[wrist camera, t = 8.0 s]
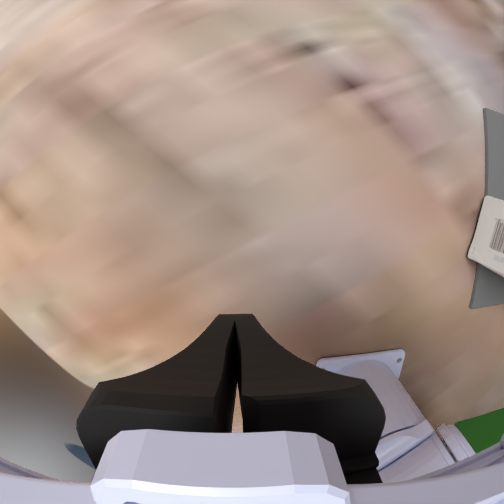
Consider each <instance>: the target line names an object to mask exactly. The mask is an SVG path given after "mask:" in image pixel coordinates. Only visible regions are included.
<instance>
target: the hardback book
mask: <svg viewBox="0 0 504 504" xmlns="http://www.w3.org/2000/svg"><path fill="white" fill-rule="evenodd" d="M455 426H456V427H457V429H458V430H459V431H460V432H461V434H462V435H463V436H464V438H465V439H466V440H467V442H468V443H469V444H470V446H471V447H472V449H473V450H474V452H475V453H476V454H477V453H479V452H481V451H483V450H485V449H487V448H489V447H491V446H493V445H495V444H497V443H499V442H500V440H501V438H502V436H503V434H504V408H502V409H499V410H496V411H493V412H490V413H487V414H484V415H481V416H478V417H474V418H471V419H467V420H464V421H460V422H456V423H455ZM448 450H449V448H448ZM449 451H450V450H449ZM450 452H451V451H450Z"/></svg>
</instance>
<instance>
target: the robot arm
mask: <svg viewBox="0 0 504 504" xmlns="http://www.w3.org/2000/svg"><path fill="white" fill-rule="evenodd" d="M399 358H400V359H399ZM404 358H405V351H404V350H403V349H396V350H389V351H382V352H375V353H367V354H359V355H350V356H340V357H330V358H321V359H319V360H318V361H317V363H316V366H314V365H312V364H310V363H308V362H306V361H304V360H302V359H300V358H298V357H297V356H295V355H293V354H292V353H290V352H289V351H287V350H286V349H285V348H283V347H282V346H281V345H279V344H278V343H277V342H276V341H275V340H274V339H273V338H272V337H271V336H270V335H269V334H268V333H267V332H266V331H265V330H264V328H263V327H262V326H261V325H260V323H259V322H258V321H257V319H256V318H255V316H254V315H253V314H219V315H218V316H217V317H216V318H215V319H214V320H213V322H212V323H211V324H210V325H209V326H208V328H207V329H206V330H205V331H204V332H203V333H202V334H201V335H200V336H199V337H198V338H197V339H196V340H195V341H194V342H192V343H191V344H190V345H189V346H188V347H187V348H185V349H184V350H182V351H181V352H180V353H178V354H176V355H175V356H173V357H172V358H170V359H168V360H166V361H164V362H162V363H160V364H158V365H156V366H154V367H152V368H150V369H147V370H145V371H142V372H139V373H136V374H133V375H130V376H126V377H123V378H118V379H113V380H109V381H104V382H99V383H98V385H97V386H96V388H95V389H94V391H93V392H92V393H91V395H90V397H89V399H88V401H87V402H86V405H85V406H84V408H83V410H82V411H81V413H80V415H79V417H78V419H77V427H76V428H77V432H78V435H79V438H80V440H81V442H82V444H83V446H84V448H85V450H86V452H87V454H88V455H89V457H90V459H91V461H92V463H93V465H94V466H95V468H96V471H95V474H94V476H93V479H92V481H91V483H90V482H89V483H88V482H69V481H60V480H57V479H54V478H51V477H48V476H45V475H42V474H39V473H37V472H34V471H32V470H29V469H27V468H24V467H22V466H19V465H17V464H14V463H12V462H10V461H8V460H5V459H3V458H1V457H0V504H504V434H503V436H502V438H501V440H500V442H499V443H497V444H495V445H493V446H491V447H489V448H487V449H485V450H483V451H481V452H479V453H477V454H476V453H475V452H474V450H473V449H472V447H471V446H470V444H469V443H468V442H467V440H466V439H465V438H464V436H463V435H462V434H461V432H460V431H459V430H458V429H457V427H456V426H455V425H449V424H448V425H446V424H444V423H443V424H441V425H440V426H439V427H438V428H437V430H438V431H439V433H440V434H441V436H442V437H443V441H444V442H445V444H446V445H447V447H448V448H449V450H450V451H451V452H450V451H449V450H448V448H447V447H446V445H445V444H444V442H443V441H442V439H441V438H440V437H439V435H438V434H437V433H436V431H435V430H434V428H433V427H432V426H431V424H430V423H429V421H428V420H426V419H425V417H424V416H423V414H422V413H421V411H420V410H419V408H418V407H417V405H416V404H415V403H414V401H413V400H412V398H411V397H410V395H409V394H408V392H407V391H406V390H405V388H404V387H403V385H402V384H401V382H400V381H399V377H400V373H401V369H402V366H403V362H404ZM398 359H399V360H398ZM397 360H398V361H397ZM322 368H324V369H322ZM237 382H238V390H239V397H240V404H241V411H242V418H243V433H232V421H233V413H234V405H235V397H236V388H237Z"/></svg>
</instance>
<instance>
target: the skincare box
mask: <svg viewBox="0 0 504 504" xmlns="http://www.w3.org/2000/svg"><path fill="white" fill-rule="evenodd" d="M468 258H469V259H471V260H473V261H475V262H477V263H479V264H481V265H483V266H485V267H486V268H488V269H490V270H491V271H493V272H495V273H497V274H498V275H500V276H502V277H503V278H504V200H501V199H497V198H494V197H491V196H485V198H484V201H483V205H482V209H481V213H480V216H479V220H478V224H477V228H476V231H475V235H474V238H473V241H472V244H471V246H470V249H469V252H468Z"/></svg>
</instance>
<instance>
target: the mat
mask: <svg viewBox="0 0 504 504" xmlns="http://www.w3.org/2000/svg"><path fill="white" fill-rule="evenodd" d="M483 114H484V127H485V153H486V175H485V196H491V197H494V198H497V199H501V200H504V115H503V114H501V113H498V112H495V111H493V110H490V109H487V108H484V109H483ZM503 303H504V278H503V277H502V276H500V275H498V274H497V273H495V272H493V271H491V270H490V269H488V268H486V267H485V266H483V265H481V264H479V263H478V265H477V271H476V277H475V282H474V287H473V292H472V297H471V302H470V306H469V308H471V309H475V308H481V307H487V306H492V305H498V304H503Z"/></svg>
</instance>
